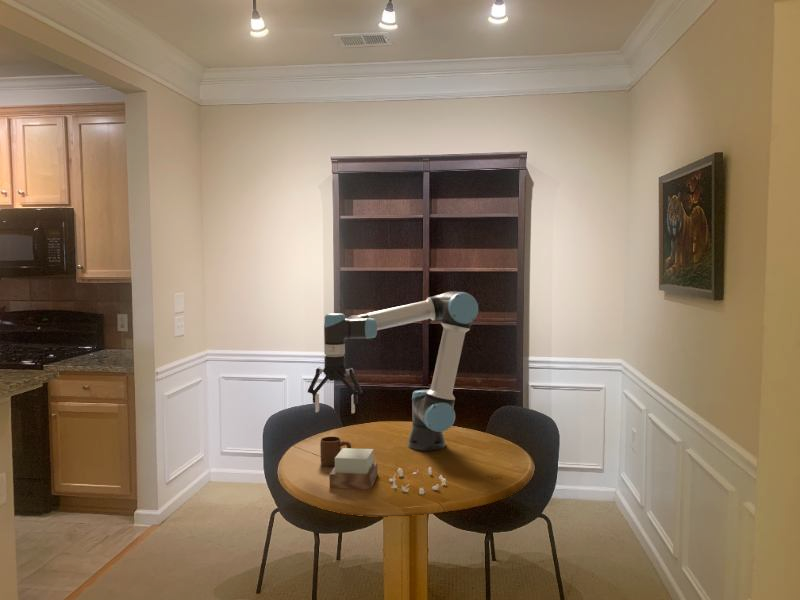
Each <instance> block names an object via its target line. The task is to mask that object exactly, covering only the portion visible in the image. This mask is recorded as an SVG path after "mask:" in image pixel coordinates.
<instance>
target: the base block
mask: <svg viewBox="0 0 800 600" xmlns="http://www.w3.org/2000/svg"><path fill="white" fill-rule="evenodd" d="M328 475H329V489H330V488H331V489H355V490H357V489H358V490H359V489H360V490H372V488H373V486H374V483H375V481H376V478H377V477H378V461H374V463H373V465H372V467H371V468H370V470H369V472H368V473H367V474H355V473H335V466H334V467H333V468H332V469H331V471H330V473H329V474H328Z"/></svg>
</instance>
